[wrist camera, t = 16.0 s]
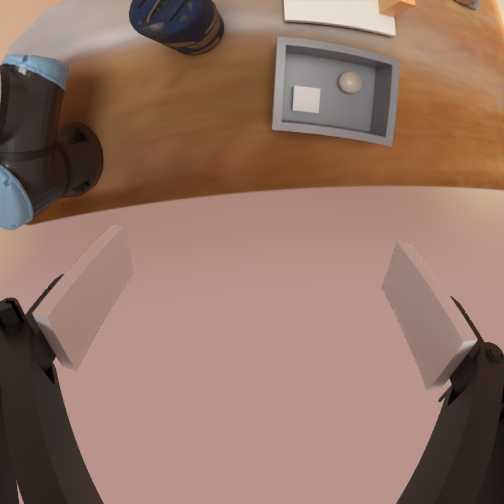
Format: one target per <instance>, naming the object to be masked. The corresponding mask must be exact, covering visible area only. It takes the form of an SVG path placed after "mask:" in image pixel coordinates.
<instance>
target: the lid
mask: <svg viewBox="0 0 504 504" xmlns="http://www.w3.org/2000/svg"><path fill="white" fill-rule="evenodd" d="M283 1H284V22H301V23H314V24H324V25H332V26H340V27H346V28H353V29H358V30H364V31H369V32H374V33H378V34H382V35H387V36H391V37H394V36H395V23H394V16H396V15H398V14H400V13H402V12H404V11H406V10H408V9H410V8H412V7H414V6H415V0H283Z"/></svg>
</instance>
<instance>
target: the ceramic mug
mask: <svg viewBox="0 0 504 504" xmlns="http://www.w3.org/2000/svg"><path fill="white" fill-rule="evenodd" d="M455 1H457V2H459V3H462V4H465V5H468V6H469V7H470V8H472V9H478V8H479V5H480V3H479V0H455Z"/></svg>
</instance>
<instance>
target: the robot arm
mask: <svg viewBox="0 0 504 504" xmlns="http://www.w3.org/2000/svg"><path fill="white" fill-rule="evenodd" d="M68 73H69V69H68V66H67V64H65V63H64V62H62V61H60V60H56V59H52V58H47V57H40V56H28V55H8V56H6V57H5V58H4V60H3V61H2V64H1V65H0V227H2V228H4V229H7V230H14V229H17V228H19V227H20V226H22V225H23V224H25V223H28V222H30V221H31V220H32V219H33V218H34V217H36V216H37V215H38V214H40V213H41V212H42V211H44V210H45V209H46V208H48V207H49V206H51V205H52V204H53V203H55V202H56V201H58V200H59V199H61V198H68V197H76V196H80V195H82V194H84V193H85V192H87V191H89V190H90V189H91V188H92V187H94V185H95V184H96V183H97V181H98V180H99V177H100V175H101V172H102V167H103V154H102V149H101V145H100V143H99V140H98V138H97V137H96V135H95V134H94V133H93V132H92V131H91V130H90V129H89V128H88V127H86V126H84V125H82V124H78V123H73V124H68V125H64V126H62V127H60V128H58V123H59V117H60V111H61V106H62V101H63V96H64V93H65V92H66V82H67V77H68ZM133 273H134V271H133V266H132V261H131V256H130V251H129V245H128V240H127V234H126V229H125V225H114V224H112V225H111V226H110V227H109V228H108V229H107V230H106V231H105V232H104V233H103V234H102V235H101V236H100V237H99V238H98V239H97V240H96V241H95V242H94V243H93V244H92V245H91V246H90V247H89V248H88V249H87V250H86V251H85V252H84V253H83V254H82V255H81V257H80V258H79V259H78V260H77V261H76V262H75V263H74V264H73V265H72V266H71V267H70V268H69V270H68V271H67V272H66V273H65V274H62V275H61V276H59V277H58V278H56V279H55V280H54V281H53V282H52V283H51V284H50V285H49V286H48V289H46V290H45V291H44V292H43V294H42V295H41V296H40V297H39V299H37V301H36V302H35V303H34V304H33V306H32V307H31V308H30V310H29V311H28V312H27V314H26V315H25V314H24V312H23V310H22V308H21V306H20V304H19V302H18V300H17V299H15V298H6V299H4V300H2V301H0V504H19V499H18V491H17V484H18V487H19V490H20V493H21V496H22V499H23V502H24V504H104V503H103V501H102V500H101V498H100V496H99V494H98V492H97V490H96V488H95V485H94V483H93V482H92V479H91V477H90V475H89V473H88V470H87V468H86V465H85V463H84V461H83V458H82V456H81V453H80V451H79V448H78V446H77V443H76V440H75V437H74V434H73V431H72V428H71V425H70V422H69V419H68V416H67V412H66V408H65V405H64V401H63V397H62V394H61V390H60V386H59V381H58V377H57V372H56V368H55V366H54V364H53V361H54V359H55V357H57V359H58V360H59V362H60V363H61V365H62V366H64V367H67V368H70V369H73V370H76V371H77V369H78V367H79V365H80V364H81V362H82V360H83V358H84V356H85V354H86V352H87V350H88V349H89V347H90V345H91V343H92V341H93V339H94V338H95V336H96V334H97V332H98V330H99V329H100V327H101V325H102V323H103V322H104V320H105V318H106V317H107V315H108V313H109V311H110V310H111V308H112V306H113V305H114V303H115V302H116V300H117V298H118V297H119V295H120V293H121V292H122V290H123V289H124V287H125V285H126V284H127V282H128V281H129V279H130V277H131V276H132V274H133ZM382 289H383V291H384V293H385V295H386V297H387V299H388V301H389V302H390V305H391V307H392V309H393V311H394V313H395V315H396V318H397V319H398V322H399V324H400V326H401V328H402V331H403V333H404V335H405V337H406V340H407V342H408V344H409V347H410V349H411V351H412V354H413V356H414V358H415V361H416V363H417V366H418V368H419V371H420V374H421V376H422V379H423V381H424V384H425V387H426V389H427V391H428V390H433V389H438V388H441V387H442V386H443V385H444V384H445V383H446V382H447V380H448V379H450V381H451V383H452V385H451V386H450V387H449V388H448V389H447V391H446V392H445V393H444V394H443V395H442V396H441V397H440V399H439V400H438V401H439V402H441V401H442V400H443V398H445V400H444V403H443V406H442V409H441V412H440V414H439V417H438V420H437V422H436V425H435V428H434V430H433V432H432V435H431V437H430V440H429V442H428V445H427V446H426V449H425V451H424V453H423V455H422V457H421V460H420V462H419V464H418V466H417V468H416V469H415V471H414V473H413V475H412V477H411V479H410V481H409V483H408V484H407V486H406V488H405V490H404V492H403V493H402V495H401V497H400V498H399V500H398V502H397V503H396V504H504V354H503V352H502V350H500V348H499V347H498V346H497V345H495V344H493V343H490V342H486V343H485V342H484V341H483V339H482V337H481V336H480V334H479V332H478V331H477V329H476V327H475V326H474V324H473V323H472V321H471V320H469V319H470V318H469V317H468V315H467V314H466V313H465V311H464V309H463V308H462V306H461V305H460V303H458V301H456V300H455V299H454V298H453V297H452V296H449V294H448V293H447V291H446V290H445V289H444V287H443V286H442V284H441V283H440V281H439V280H438V279H437V277H436V276H435V275H434V273H433V272H432V271H431V269H430V268H429V267H428V265H427V264H426V263H425V262H424V260H423V259H422V258H421V256H420V255H419V254H418V253H417V252H416V250H415V249H414V248H413V247H412V245H411V244H410V243H407V242H396V246H395V249H394V252H393V255H392V259H391V262H390V265H389V268H388V271H387V274H386V277H385V279H384V282H383V285H382ZM16 480H17V483H16Z"/></svg>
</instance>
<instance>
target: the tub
mask: <svg viewBox="0 0 504 504" xmlns="http://www.w3.org/2000/svg"><path fill="white" fill-rule="evenodd" d="M399 69H400V60H398V59H395V58H392V57H388V56H385V55H381V54H378V53H374V52H370V51H366V50H362V49H358V48H353V47H349V46H344V45H339V44H333V43H327V42H321V41H315V40H307V39H299V38H290V37H278V36H277V41H276V46H275V64H274V82H273V100H272V117H271V127H272V130H280V131H292V132H302V133H312V134H320V135H328V136H335V137H342V138H349V139H355V140H361V141H366V142H372V143H377V144H382V145H387V146H392V140H393V133H394V125H395V117H396V108H397V97H398V85H399Z"/></svg>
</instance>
